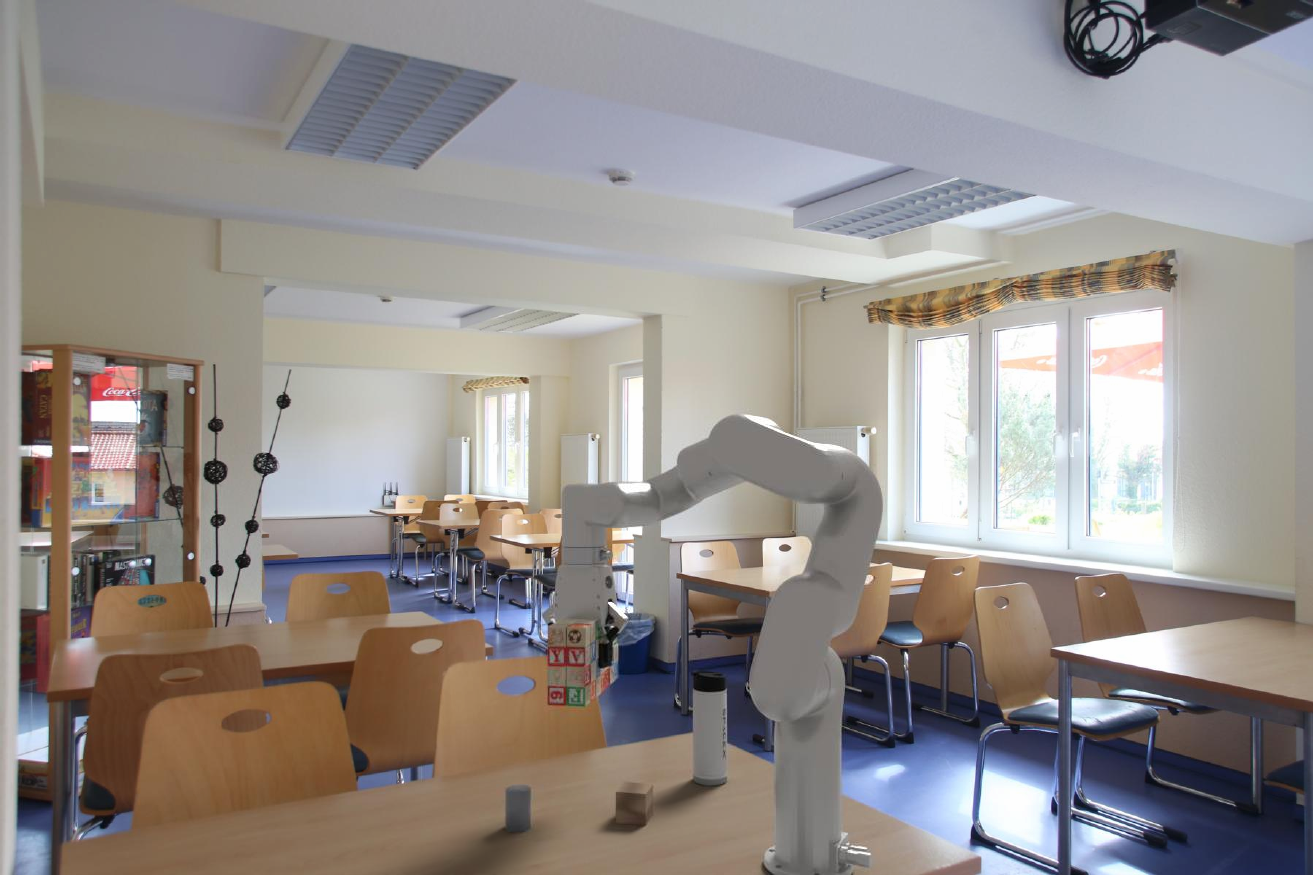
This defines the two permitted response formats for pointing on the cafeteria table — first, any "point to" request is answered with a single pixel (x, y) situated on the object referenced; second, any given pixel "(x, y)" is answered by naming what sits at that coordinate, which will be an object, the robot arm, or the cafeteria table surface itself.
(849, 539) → the robot arm
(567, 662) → the stack of blocks
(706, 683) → the travel mug
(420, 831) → the cafeteria table surface
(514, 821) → the dark grey cylinder
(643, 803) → the walnut cube
